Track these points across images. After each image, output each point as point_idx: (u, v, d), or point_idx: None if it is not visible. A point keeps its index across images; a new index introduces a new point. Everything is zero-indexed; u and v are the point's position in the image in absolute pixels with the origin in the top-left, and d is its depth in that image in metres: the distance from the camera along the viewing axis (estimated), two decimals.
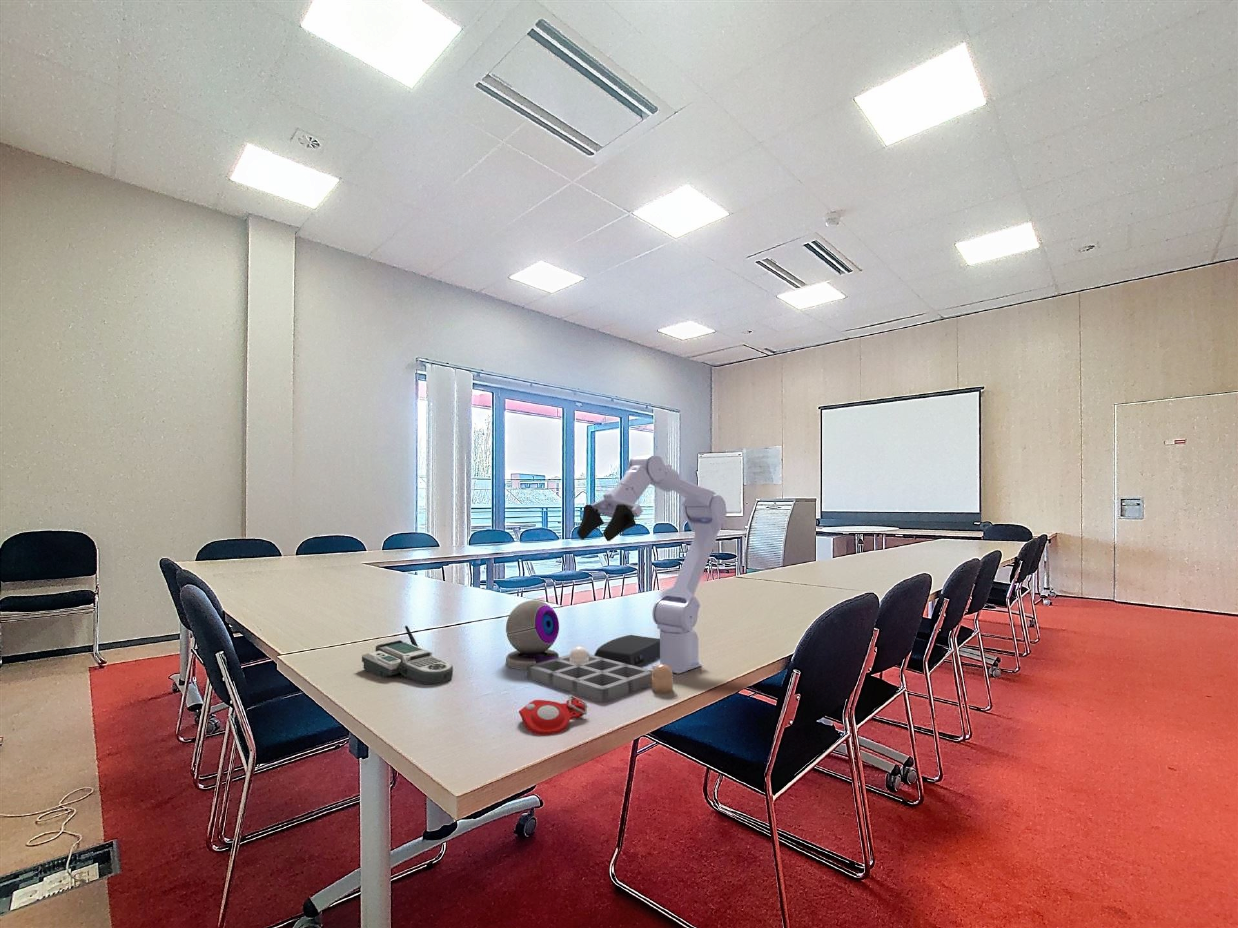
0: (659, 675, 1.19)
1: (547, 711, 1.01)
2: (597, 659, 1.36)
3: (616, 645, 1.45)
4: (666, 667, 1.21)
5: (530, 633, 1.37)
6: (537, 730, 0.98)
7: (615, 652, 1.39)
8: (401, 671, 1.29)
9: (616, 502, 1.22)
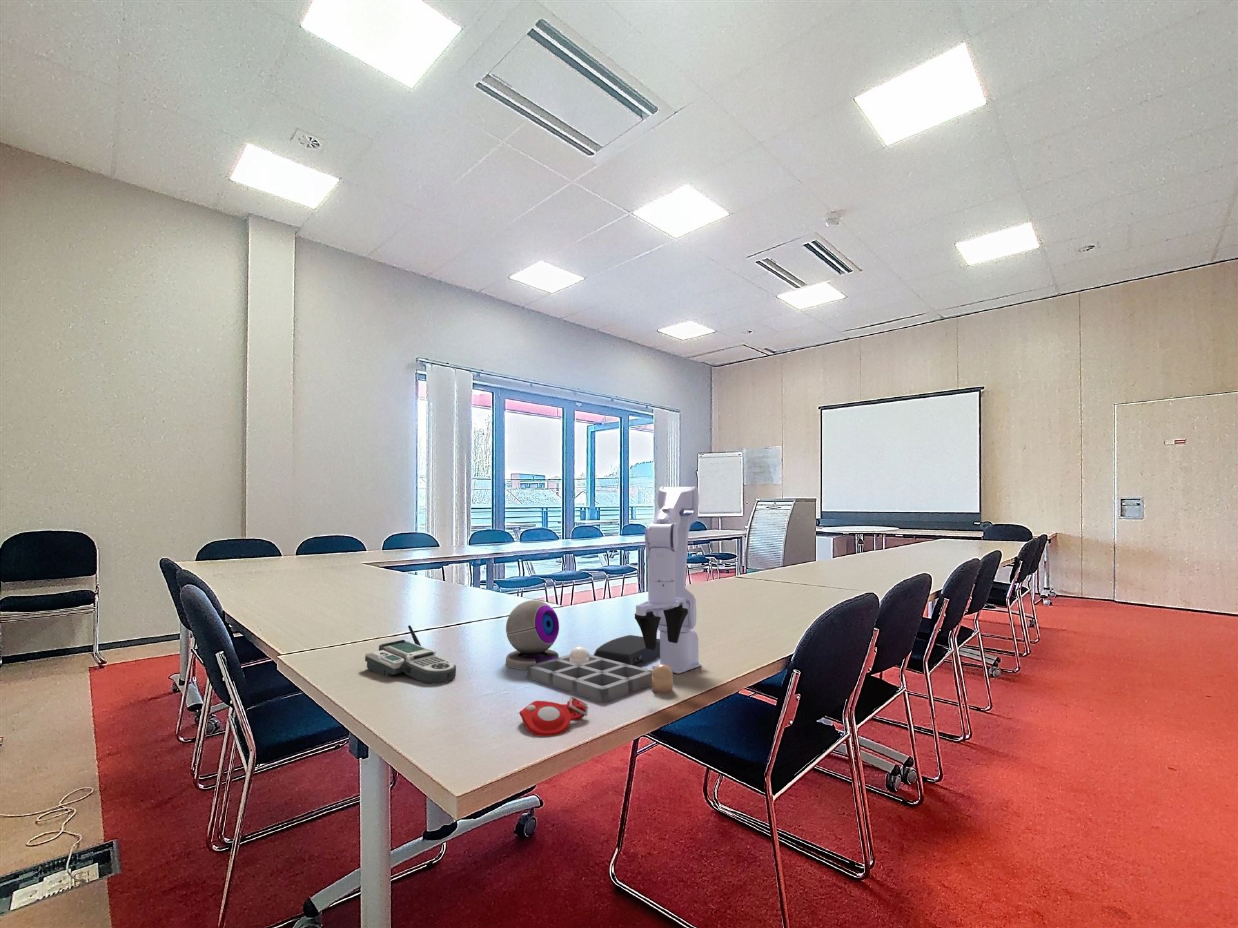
0: (660, 675, 1.19)
1: (548, 712, 1.01)
2: (597, 659, 1.36)
3: (615, 645, 1.44)
4: (666, 667, 1.21)
5: (530, 633, 1.37)
6: (537, 731, 0.98)
7: (614, 652, 1.39)
8: (404, 670, 1.29)
9: None
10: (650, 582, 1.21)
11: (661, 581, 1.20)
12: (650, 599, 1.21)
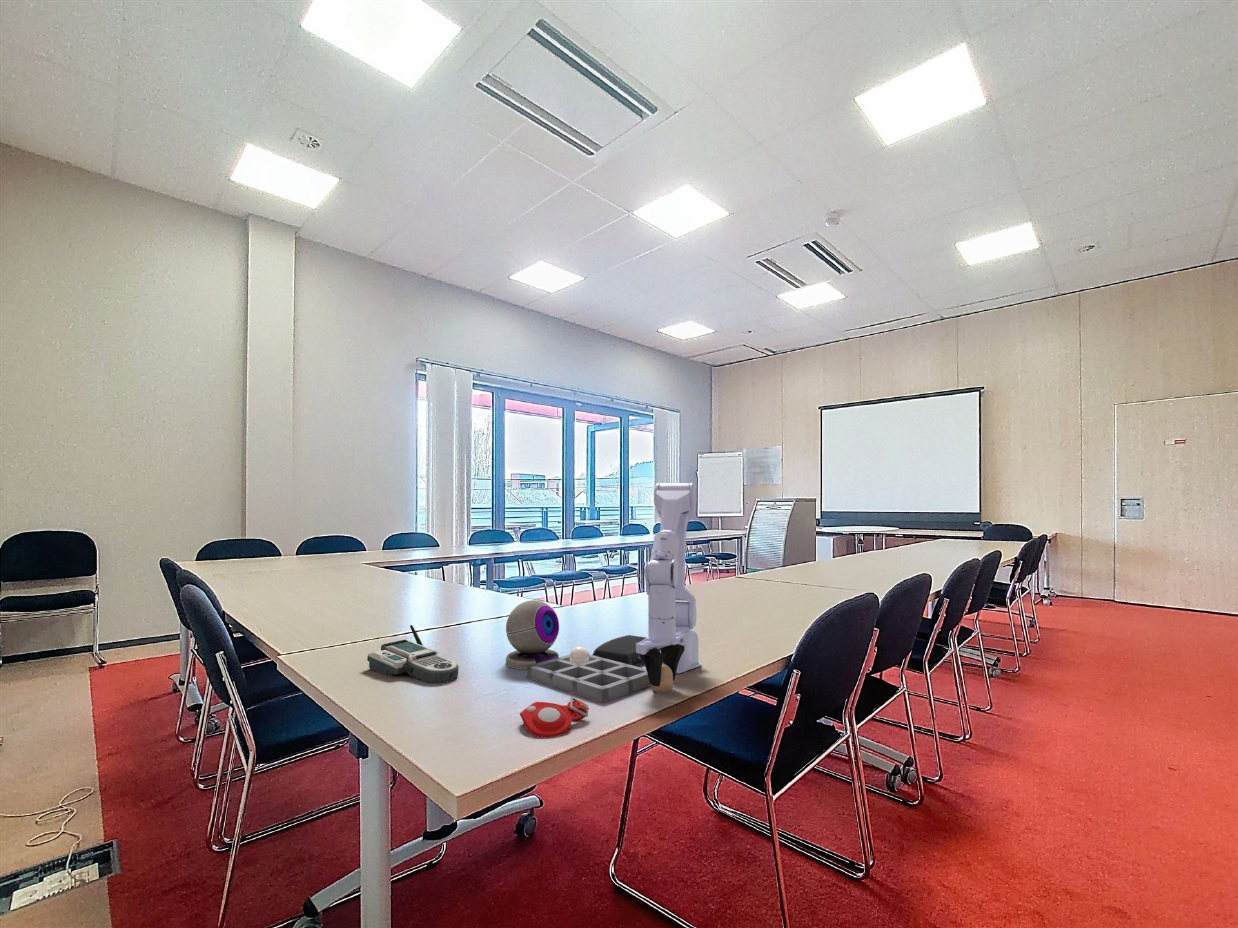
0: None
1: (548, 713, 1.00)
2: (597, 659, 1.36)
3: (614, 645, 1.44)
4: (666, 667, 1.21)
5: (530, 633, 1.37)
6: (538, 732, 0.97)
7: (613, 652, 1.39)
8: (407, 670, 1.29)
9: None
10: (650, 619, 1.21)
11: (661, 618, 1.19)
12: (650, 636, 1.20)
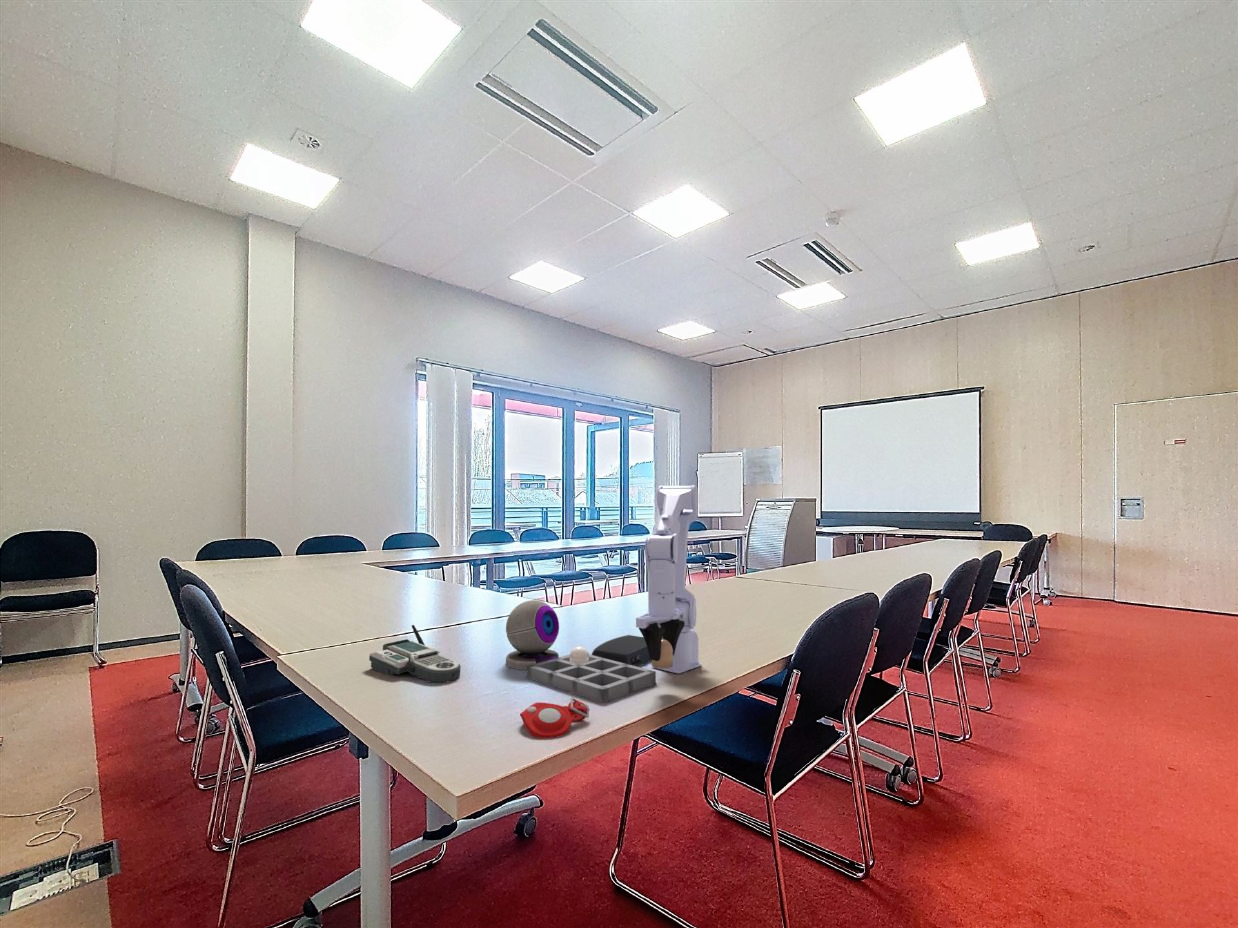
0: None
1: (548, 714, 1.00)
2: (597, 659, 1.36)
3: (613, 645, 1.44)
4: (666, 642, 1.21)
5: (530, 633, 1.37)
6: (538, 733, 0.97)
7: (612, 652, 1.39)
8: (409, 669, 1.30)
9: None
10: (650, 594, 1.21)
11: (661, 593, 1.20)
12: (650, 611, 1.21)
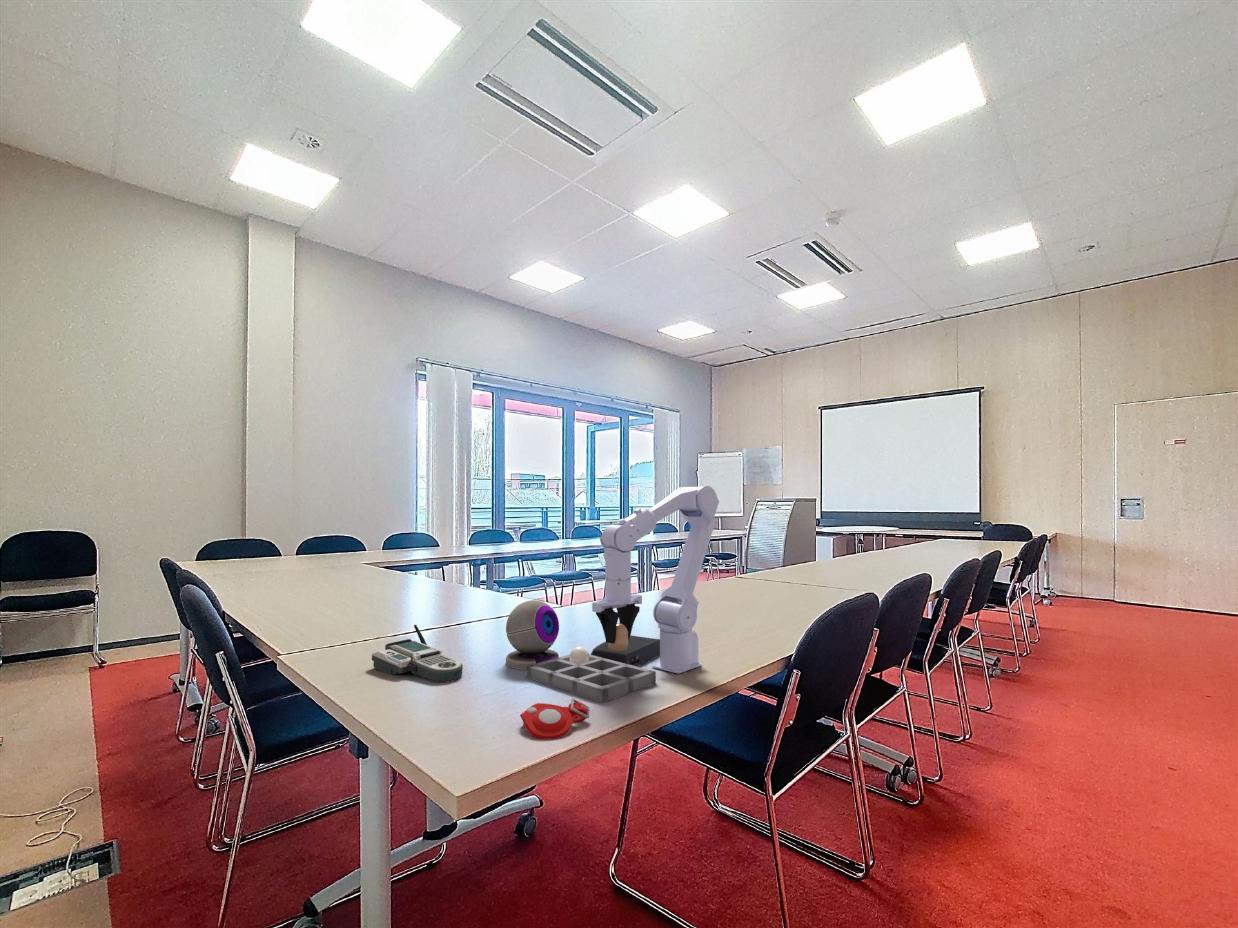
0: None
1: (549, 715, 1.00)
2: (597, 659, 1.36)
3: None
4: (622, 626, 1.28)
5: (530, 633, 1.37)
6: (538, 734, 0.97)
7: (611, 652, 1.39)
8: (411, 669, 1.30)
9: None
10: (607, 580, 1.28)
11: (617, 579, 1.27)
12: (606, 596, 1.28)
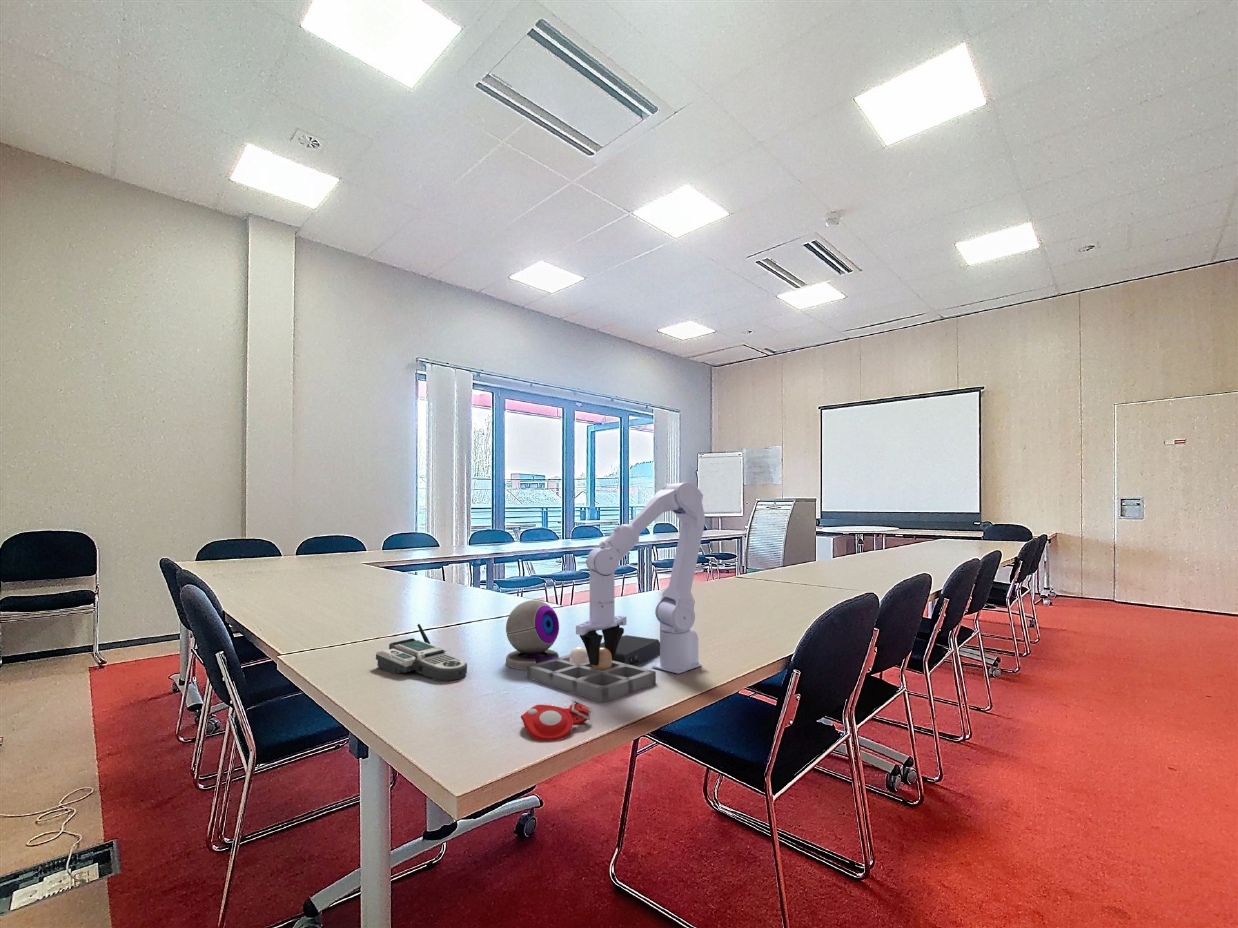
0: (599, 657, 1.29)
1: (549, 717, 0.99)
2: None
3: None
4: (605, 650, 1.30)
5: (530, 633, 1.37)
6: (539, 736, 0.96)
7: None
8: (416, 668, 1.31)
9: None
10: (591, 603, 1.30)
11: (600, 602, 1.29)
12: (590, 619, 1.30)
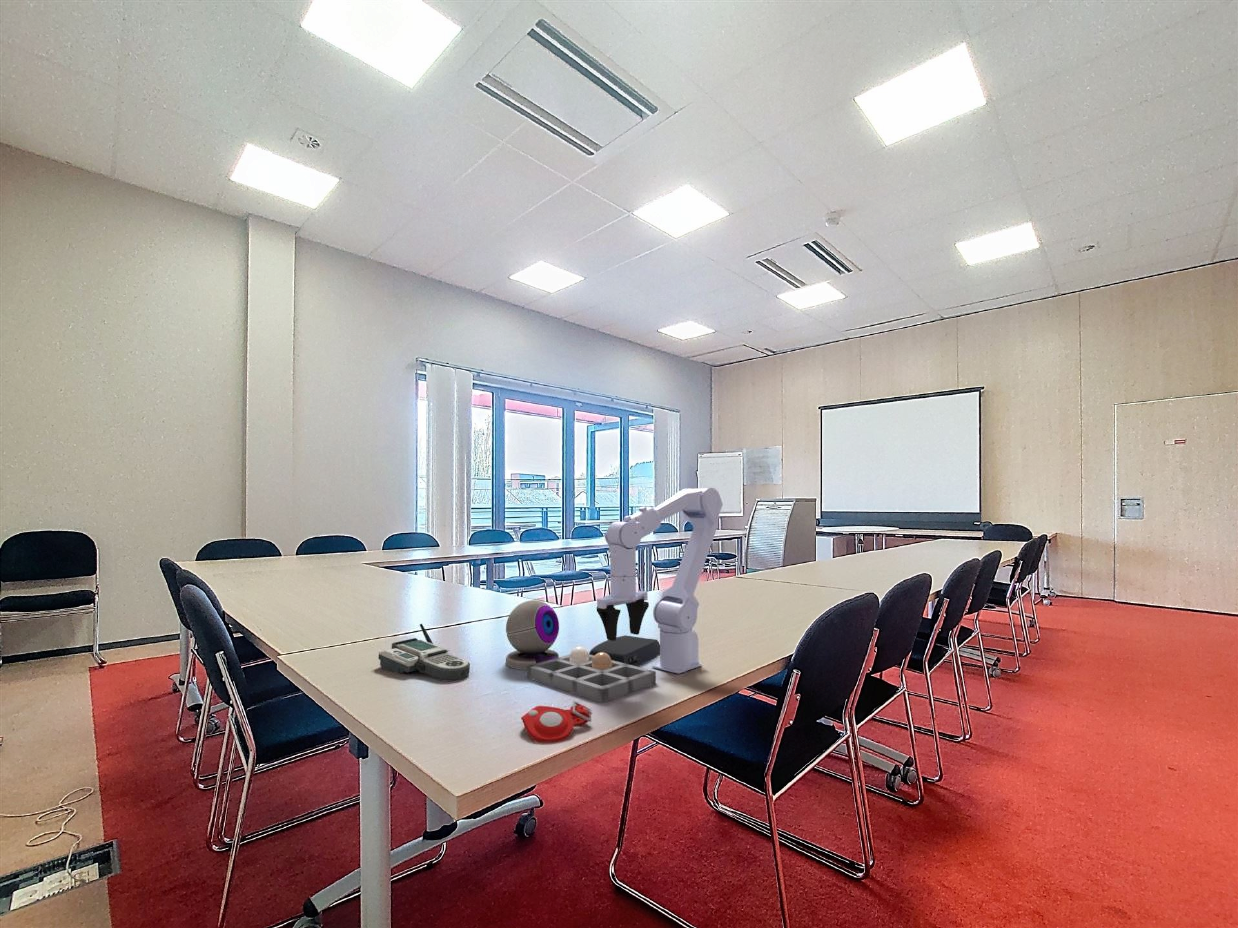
0: (598, 662, 1.29)
1: (550, 718, 0.98)
2: None
3: (610, 646, 1.44)
4: (605, 655, 1.30)
5: (530, 633, 1.37)
6: (539, 737, 0.95)
7: (608, 653, 1.39)
8: (419, 668, 1.31)
9: None
10: (612, 577, 1.28)
11: (621, 576, 1.27)
12: (612, 593, 1.28)
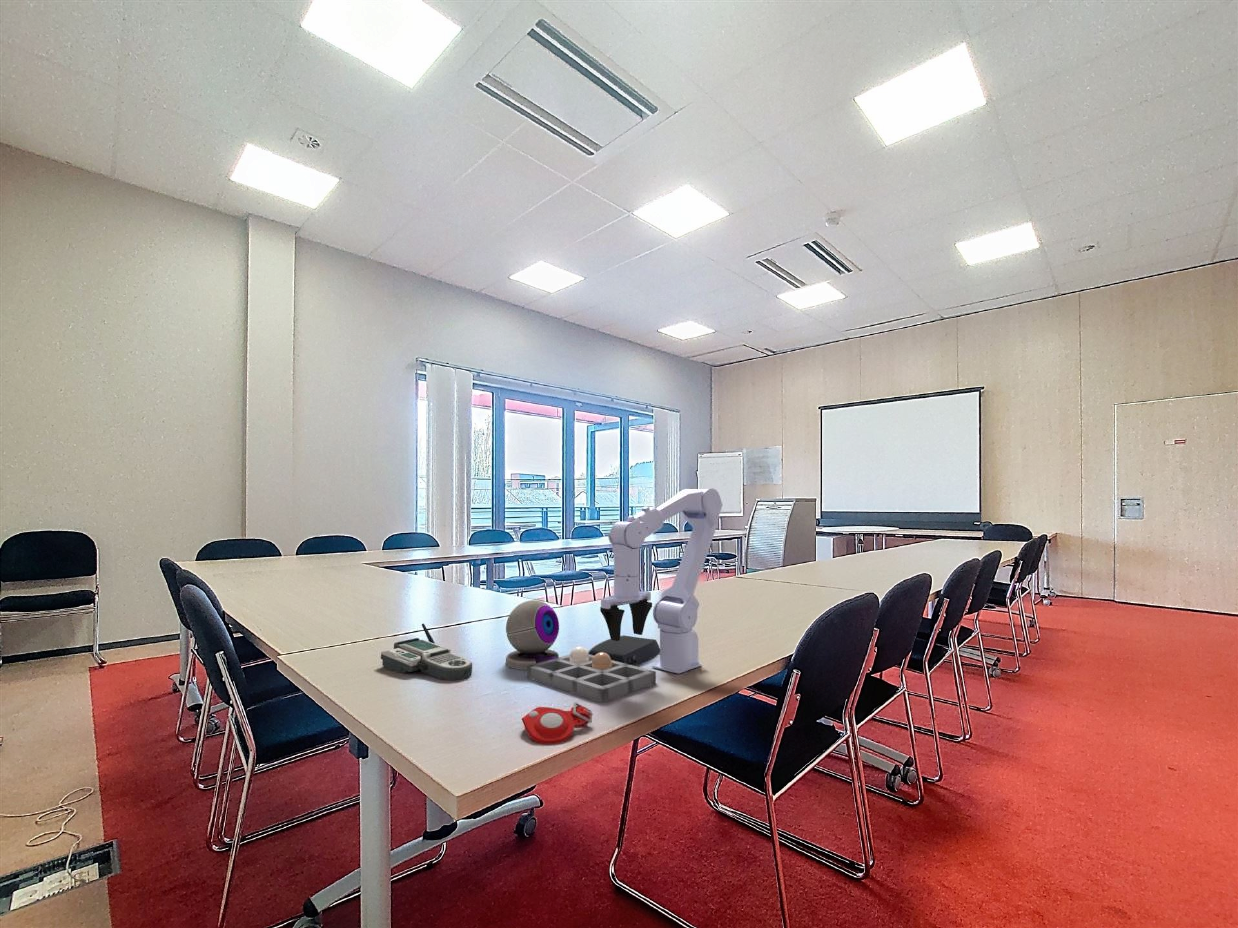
0: (598, 662, 1.29)
1: (550, 719, 0.98)
2: None
3: (609, 646, 1.44)
4: (605, 655, 1.30)
5: (530, 633, 1.37)
6: (540, 739, 0.95)
7: (608, 653, 1.39)
8: (421, 667, 1.31)
9: None
10: (615, 577, 1.28)
11: (625, 576, 1.27)
12: (615, 593, 1.28)
